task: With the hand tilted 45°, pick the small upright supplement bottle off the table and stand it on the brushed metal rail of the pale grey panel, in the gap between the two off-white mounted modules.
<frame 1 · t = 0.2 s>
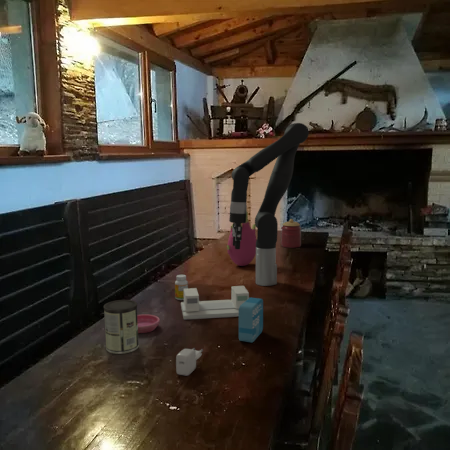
hand: (236, 247, 219), 18 cm above the table, tool pointing down, fingers open, 8 cm apart
supplement bottle: (181, 298, 203), on the table
coffee can: (122, 348, 153), on the table
rail panel: (215, 310, 187), on the table
pink dragon fruit: (242, 266, 259), on the table
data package: (251, 337, 161), on the table
canister: (290, 246, 311), on the table
saucer: (142, 329, 169), on the table
power adapter: (190, 368, 138), on the table
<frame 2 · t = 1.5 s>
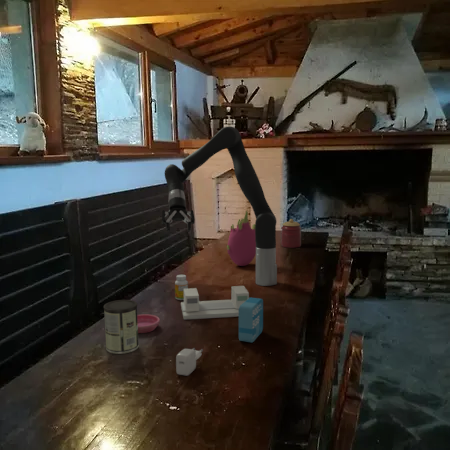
hand: (178, 230, 209), 27 cm above the table, tool tilted 45°, fingers open, 8 cm apart
nothing on the table moved.
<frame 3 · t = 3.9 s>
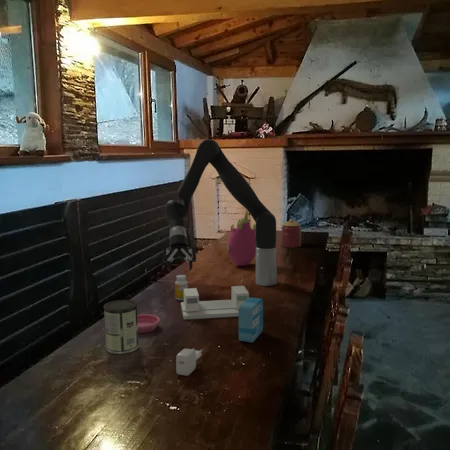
hand: (180, 269, 205), 11 cm above the table, tool tilted 45°, fingers open, 8 cm apart
nothing on the table moved.
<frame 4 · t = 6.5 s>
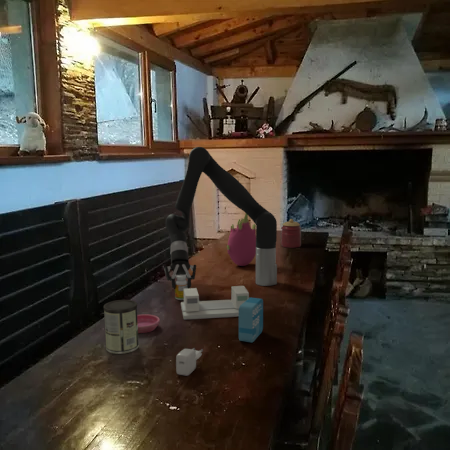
hand: (181, 287, 201), 5 cm above the table, tool tilted 45°, fingers closed on supplement bottle, 5 cm apart
supplement bottle: (181, 298, 203), on the table, touching gripper
everything else where it was.
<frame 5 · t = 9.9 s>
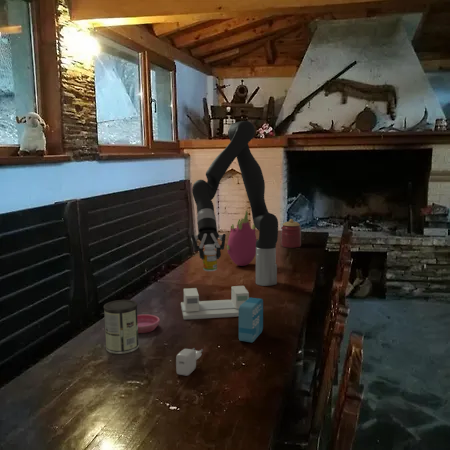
hand: (210, 258, 185), 21 cm above the table, tool tilted 45°, fingers closed on supplement bottle, 5 cm apart
supplement bottle: (210, 270, 187), point 15 cm above the table, touching gripper
everything else where it was.
when the fingers open (8 cm above the table, at t = 13.6 s): supplement bottle stays where it is, resting on rail panel.
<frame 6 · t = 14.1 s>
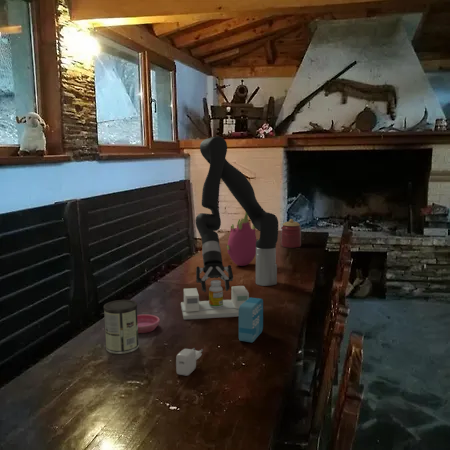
hand: (216, 290, 185), 8 cm above the table, tool tilted 45°, fingers open, 8 cm apart
supplement bottle: (216, 306, 187), point 2 cm above the table, touching rail panel
everything else where it was.
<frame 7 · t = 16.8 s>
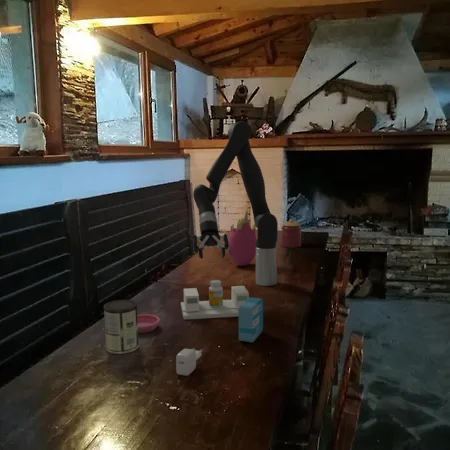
hand: (212, 257, 193), 19 cm above the table, tool tilted 45°, fingers open, 8 cm apart
nothing on the table moved.
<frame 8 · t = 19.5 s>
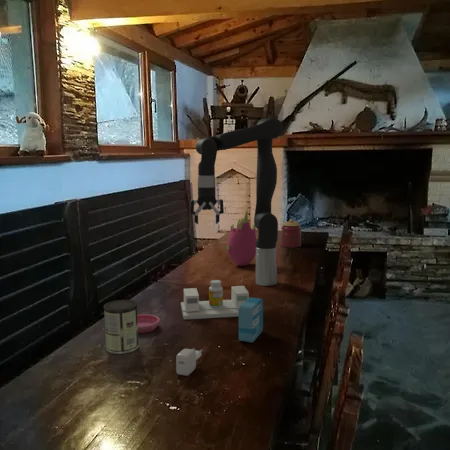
hand: (207, 223, 208), 30 cm above the table, tool pointing down, fingers open, 8 cm apart
nothing on the table moved.
at the end: supplement bottle 0.2 cm off-centre on the rail panel, point 1.7 cm above the rail panel's base; supplement bottle tilted 0°; the gripper is holding nothing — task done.
